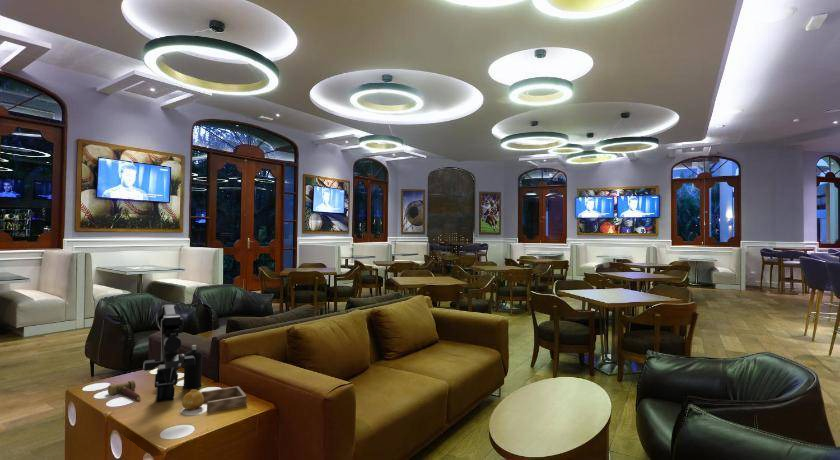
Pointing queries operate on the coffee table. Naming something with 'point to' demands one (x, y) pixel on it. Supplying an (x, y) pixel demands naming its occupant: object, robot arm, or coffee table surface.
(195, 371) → the aerosol can
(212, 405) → the tray
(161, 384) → the robot arm
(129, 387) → the gavel
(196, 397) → the fruit
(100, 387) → the coffee table surface
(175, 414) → the coffee table surface
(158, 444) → the coffee table surface
